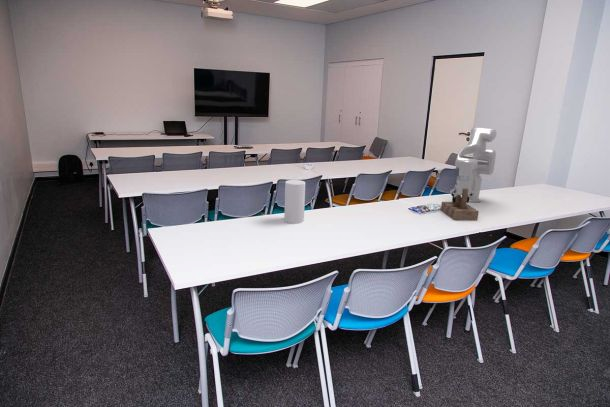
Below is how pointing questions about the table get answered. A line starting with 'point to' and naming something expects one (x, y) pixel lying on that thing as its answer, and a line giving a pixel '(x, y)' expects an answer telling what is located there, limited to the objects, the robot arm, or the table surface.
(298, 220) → the cylinder
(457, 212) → the end cap block
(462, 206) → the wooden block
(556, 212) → the table surface
